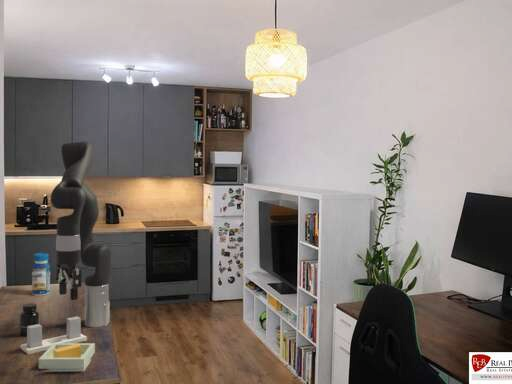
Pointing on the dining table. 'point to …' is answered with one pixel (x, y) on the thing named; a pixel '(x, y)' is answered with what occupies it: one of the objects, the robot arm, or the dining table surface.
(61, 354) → the block
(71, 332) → the block
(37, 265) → the blue vitamin bottle
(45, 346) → the block
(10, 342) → the dining table surface
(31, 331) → the block
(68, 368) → the sage tray
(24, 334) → the supplement bottle
